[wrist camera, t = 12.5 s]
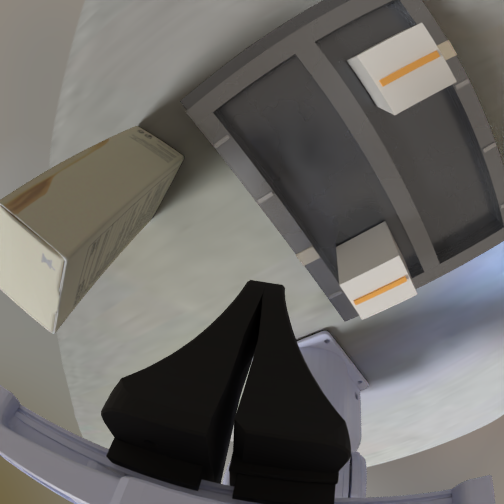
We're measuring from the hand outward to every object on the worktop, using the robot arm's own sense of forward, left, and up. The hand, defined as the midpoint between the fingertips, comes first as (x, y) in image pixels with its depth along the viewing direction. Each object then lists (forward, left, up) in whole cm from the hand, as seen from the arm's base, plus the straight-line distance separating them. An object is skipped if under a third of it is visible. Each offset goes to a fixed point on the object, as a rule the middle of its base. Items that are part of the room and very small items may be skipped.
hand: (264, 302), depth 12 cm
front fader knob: (+4, -10, -8) cm, 14 cm away
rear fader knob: (-5, -3, -8) cm, 10 cm away
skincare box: (+7, +7, -10) cm, 14 cm away
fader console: (0, -7, -10) cm, 12 cm away
